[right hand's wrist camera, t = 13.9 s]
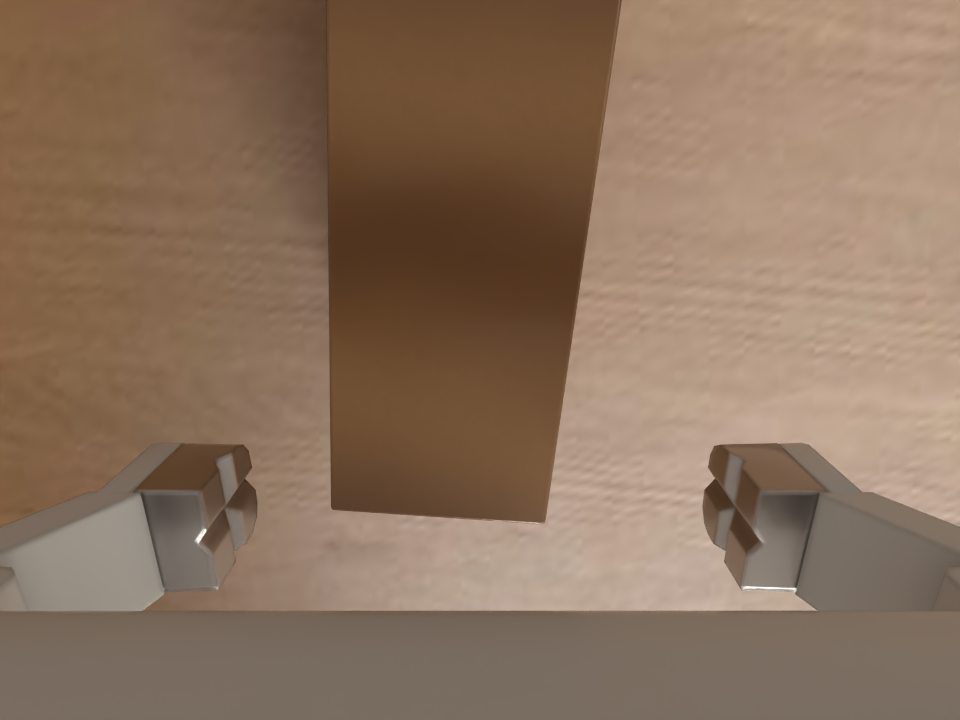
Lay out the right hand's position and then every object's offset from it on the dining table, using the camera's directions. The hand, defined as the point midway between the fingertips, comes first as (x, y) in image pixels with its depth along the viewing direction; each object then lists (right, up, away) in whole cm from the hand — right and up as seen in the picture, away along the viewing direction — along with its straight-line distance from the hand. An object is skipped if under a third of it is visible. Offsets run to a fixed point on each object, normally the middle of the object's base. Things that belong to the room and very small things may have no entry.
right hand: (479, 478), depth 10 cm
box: (0, +13, +11) cm, 17 cm away
